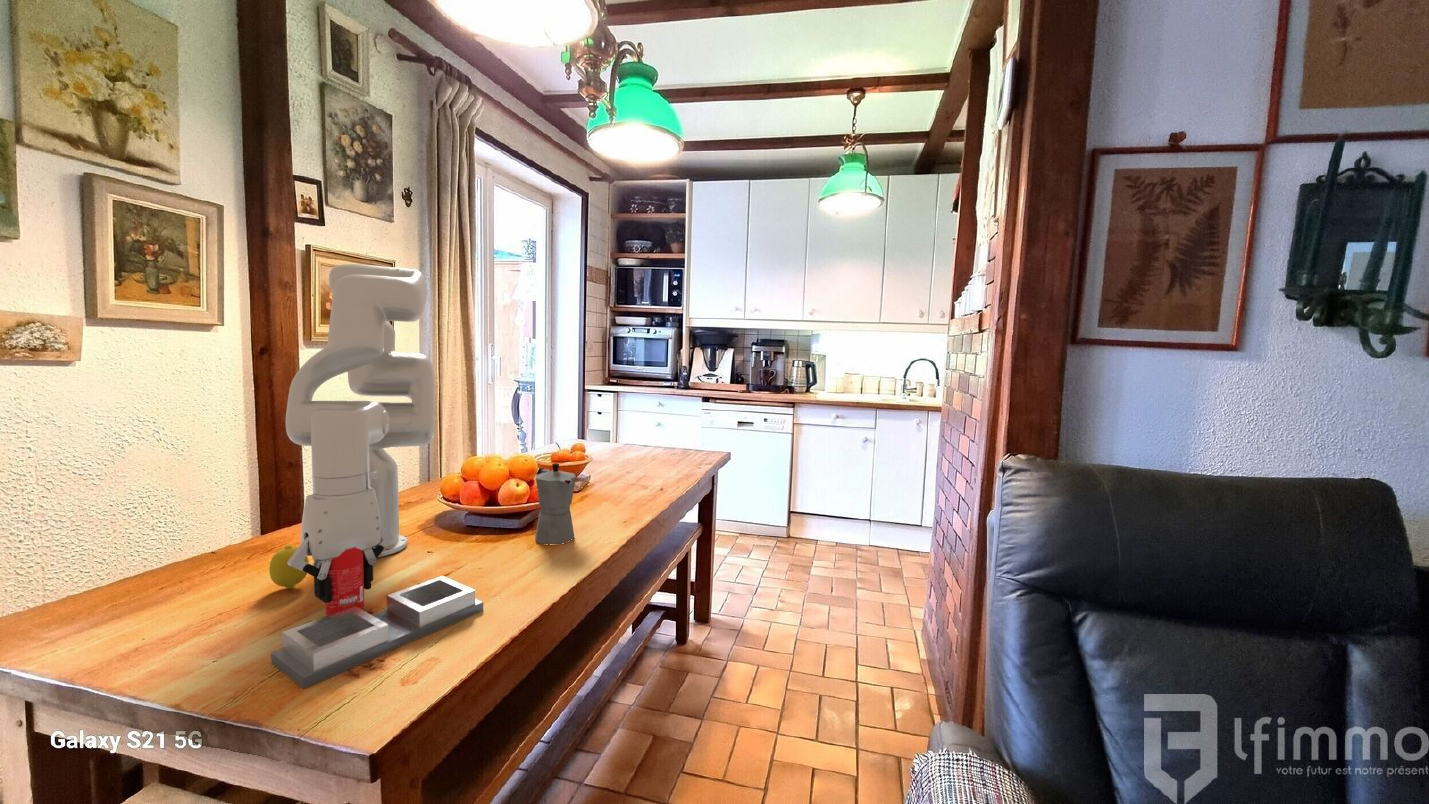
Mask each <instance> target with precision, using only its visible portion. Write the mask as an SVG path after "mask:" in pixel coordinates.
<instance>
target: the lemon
mask: <svg viewBox="0 0 1429 804" xmlns="http://www.w3.org/2000/svg"><path fill="white" fill-rule="evenodd" d="M298 547H299V546H293V545H292V544H287V545H286V546H285V547H283V548H281V549H279V550H277V551H276V552H275V554H273V556H272V558H271V560H270V562H269V570H268V571H269V577H270V580H271V581H272V582H273V583H274V584H276V585H277V586H279V587H284V588H286V589H288V590H291V589H293V588H294V587H295V586H296V585H297V584H300V583H301V582H303V580H304V579H305V578H306V577H307V575H308V573H306V572H304V571H301V570H299V569H296V568H294V567H291V566H290V565H288V564H287V562H288V560H289V559H290V558H291V556H292V555H293V554H294V553H295V551H296V550H297V549H298ZM308 557H309V556H306V557H305V559H304V562H307V563H309V564H310V562H309V558H308Z"/></svg>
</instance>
